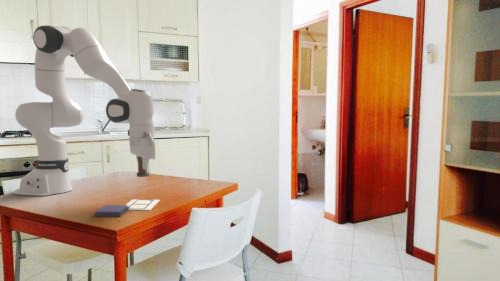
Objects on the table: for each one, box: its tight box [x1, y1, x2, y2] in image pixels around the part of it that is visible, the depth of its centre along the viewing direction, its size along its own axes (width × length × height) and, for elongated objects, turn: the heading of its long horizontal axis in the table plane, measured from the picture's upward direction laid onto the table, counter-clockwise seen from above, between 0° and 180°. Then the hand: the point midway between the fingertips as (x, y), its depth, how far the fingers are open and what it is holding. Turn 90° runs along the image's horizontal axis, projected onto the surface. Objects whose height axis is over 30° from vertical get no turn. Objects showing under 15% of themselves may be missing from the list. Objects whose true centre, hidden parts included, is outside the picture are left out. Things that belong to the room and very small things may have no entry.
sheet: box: [125, 198, 161, 211], centre depth 134 cm, size 11×14×1 cm
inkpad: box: [93, 204, 129, 218], centre depth 124 cm, size 9×9×2 cm
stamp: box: [136, 156, 150, 178], centre depth 136 cm, size 4×4×9 cm
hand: (142, 168), depth 136 cm, fingers closed on stamp, 4 cm apart
